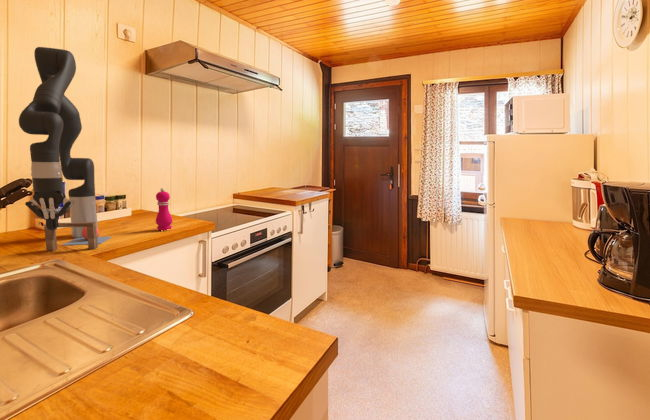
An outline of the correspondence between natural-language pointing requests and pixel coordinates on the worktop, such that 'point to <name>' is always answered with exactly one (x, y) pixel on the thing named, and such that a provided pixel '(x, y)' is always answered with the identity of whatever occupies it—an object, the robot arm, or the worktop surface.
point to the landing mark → (85, 241)
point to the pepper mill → (163, 211)
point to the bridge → (91, 226)
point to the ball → (84, 233)
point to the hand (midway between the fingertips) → (52, 229)
